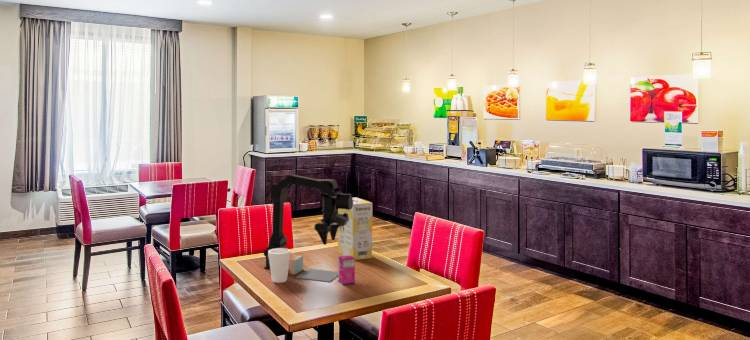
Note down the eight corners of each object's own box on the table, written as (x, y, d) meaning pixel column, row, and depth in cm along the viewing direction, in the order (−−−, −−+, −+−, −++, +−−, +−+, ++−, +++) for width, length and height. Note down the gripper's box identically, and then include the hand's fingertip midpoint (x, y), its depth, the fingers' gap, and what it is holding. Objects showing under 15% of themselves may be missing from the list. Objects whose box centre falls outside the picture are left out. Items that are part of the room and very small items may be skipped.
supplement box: (337, 281, 231) (337, 255, 230) (350, 279, 233) (350, 254, 232) (342, 285, 225) (342, 258, 224) (355, 283, 228) (355, 257, 227)
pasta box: (371, 257, 269) (372, 202, 266) (352, 260, 264) (353, 204, 261) (355, 249, 285) (356, 197, 282) (337, 251, 280) (338, 198, 277)
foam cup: (294, 278, 234) (294, 249, 232) (284, 284, 225) (283, 254, 224) (275, 276, 237) (274, 247, 235) (264, 282, 228) (263, 252, 227)
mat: (295, 278, 234) (295, 277, 234) (309, 269, 247) (309, 268, 247) (329, 282, 229) (329, 281, 229) (341, 273, 242) (341, 272, 242)
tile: (290, 273, 241) (290, 259, 240) (298, 269, 248) (298, 255, 247) (295, 274, 240) (295, 260, 239) (303, 269, 247) (303, 255, 247)
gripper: (337, 212, 227) (337, 248, 228) (353, 205, 244) (353, 239, 246) (314, 210, 230) (313, 246, 232) (331, 204, 248) (331, 237, 249)
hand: (329, 242), depth 240 cm, fingers open, 9 cm apart
